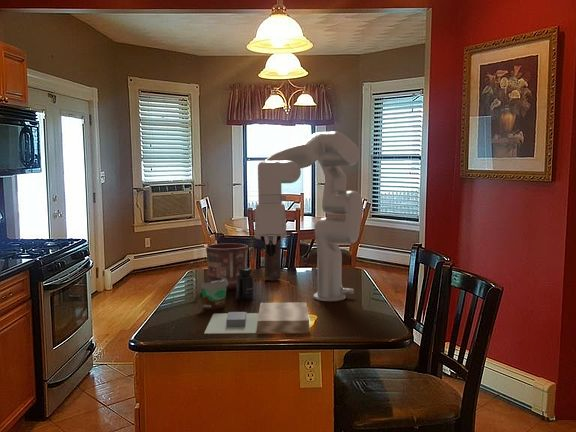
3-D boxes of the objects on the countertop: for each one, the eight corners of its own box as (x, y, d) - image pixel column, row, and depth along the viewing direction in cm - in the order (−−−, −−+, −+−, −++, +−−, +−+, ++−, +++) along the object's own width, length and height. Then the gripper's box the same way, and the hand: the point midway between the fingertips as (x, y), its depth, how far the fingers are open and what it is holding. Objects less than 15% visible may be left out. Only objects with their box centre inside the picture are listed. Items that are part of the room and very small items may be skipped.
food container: (214, 312, 189) (213, 284, 188) (201, 309, 192) (200, 282, 191) (235, 304, 199) (235, 278, 198) (222, 302, 202) (222, 276, 201)
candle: (284, 280, 241) (283, 236, 240) (275, 283, 235) (274, 238, 233) (270, 278, 246) (269, 235, 244) (261, 281, 239) (260, 237, 238)
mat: (259, 314, 186) (259, 313, 186) (255, 333, 164) (255, 332, 164) (213, 314, 185) (213, 313, 185) (204, 334, 164) (204, 333, 164)
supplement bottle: (251, 301, 203) (251, 270, 202) (234, 300, 205) (233, 270, 204) (256, 297, 210) (255, 267, 209) (239, 296, 211) (239, 266, 210)
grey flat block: (228, 312, 178) (228, 319, 178) (226, 319, 169) (226, 327, 169) (246, 311, 178) (246, 319, 178) (245, 319, 169) (245, 327, 170)
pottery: (238, 293, 217) (237, 249, 216) (199, 290, 223) (199, 247, 221) (254, 284, 234) (254, 244, 232) (218, 281, 239) (218, 242, 238)
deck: (306, 313, 186) (306, 302, 185) (309, 333, 164) (309, 320, 163) (260, 314, 186) (260, 302, 185) (257, 333, 164) (257, 320, 163)
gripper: (293, 198, 175) (293, 253, 177) (247, 199, 175) (249, 254, 177) (293, 200, 167) (294, 257, 169) (246, 201, 167) (247, 258, 169)
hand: (271, 255), depth 173 cm, fingers closed
